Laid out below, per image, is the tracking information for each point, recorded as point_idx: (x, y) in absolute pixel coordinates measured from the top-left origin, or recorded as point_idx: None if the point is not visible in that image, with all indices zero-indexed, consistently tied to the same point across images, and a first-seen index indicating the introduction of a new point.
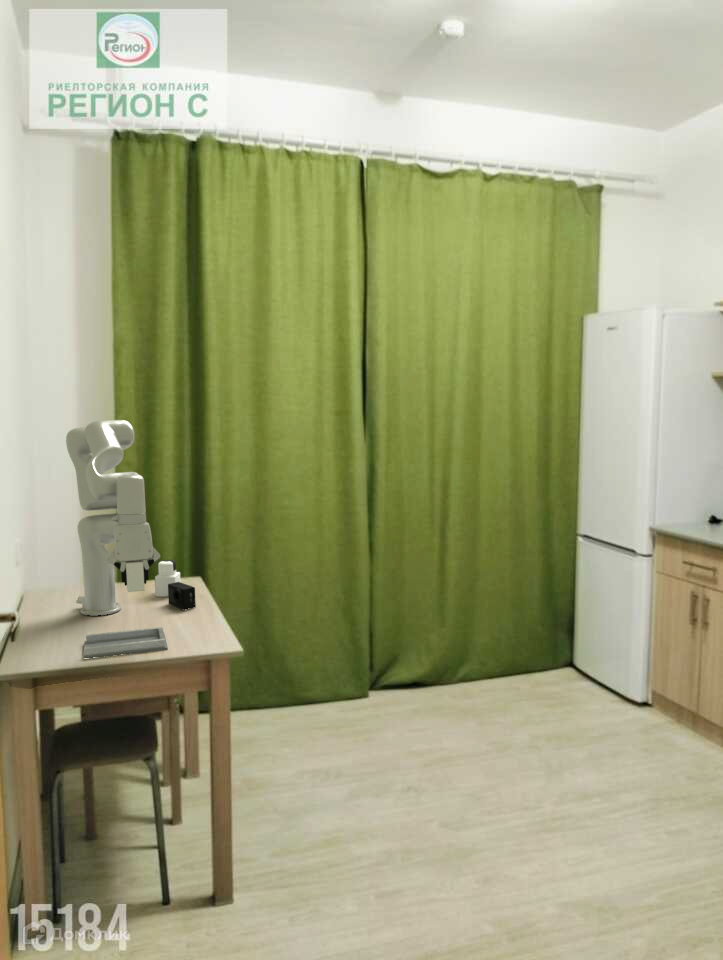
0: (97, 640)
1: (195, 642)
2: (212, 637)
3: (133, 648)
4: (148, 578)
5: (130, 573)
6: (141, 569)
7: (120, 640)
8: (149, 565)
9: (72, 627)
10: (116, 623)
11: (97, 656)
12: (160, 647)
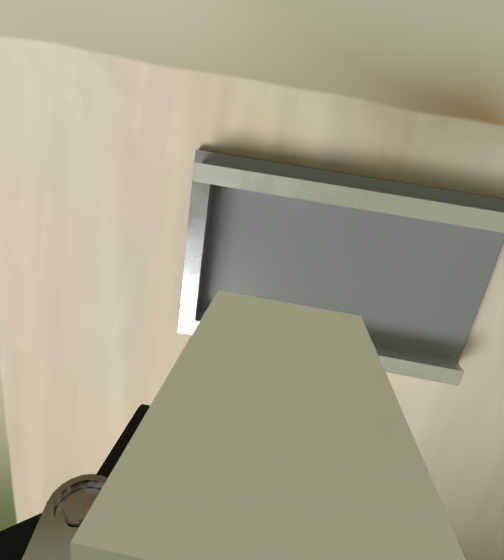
0: (414, 352)
1: (91, 182)
2: (28, 206)
3: (322, 182)
4: (139, 408)
5: (354, 424)
6: (175, 423)
7: None
8: (30, 537)
9: None
10: None
11: (462, 192)
12: (220, 164)
